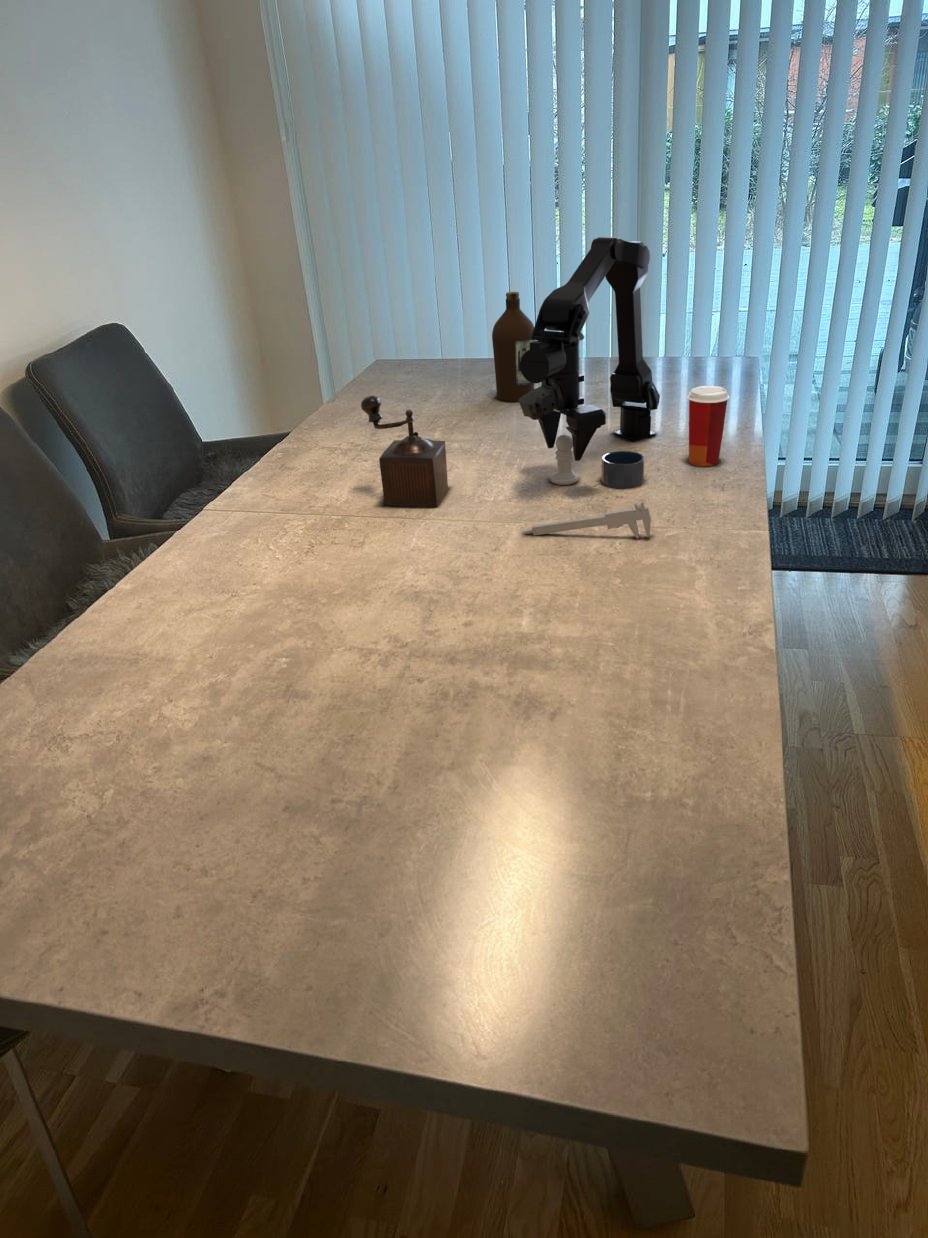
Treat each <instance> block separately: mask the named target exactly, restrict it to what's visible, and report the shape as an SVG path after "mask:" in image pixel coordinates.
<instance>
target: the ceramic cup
mask: <svg viewBox="0 0 928 1238" xmlns="http://www.w3.org/2000/svg"><path fill="white" fill-rule="evenodd" d="M645 458H646V457H645V456H644V455H643V454H642V453H639V452H637V451H630V450H619V451H611V452H607V453H605V454H603V456H601V477H600V479H601V480H600V481H601V483H602V484H603V485H604V486H606V487H609V488H614V489H631V488H636V487H639V486H641V485H642V484H643V483H644V478H645Z"/></svg>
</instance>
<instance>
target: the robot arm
mask: <svg viewBox="0 0 928 1238" xmlns="http://www.w3.org/2000/svg"><path fill="white" fill-rule="evenodd" d="M650 261H651V252H650V249H649V247H648V245H646V244H645V242H643V241H627V240H624V239H622V238H619V237H617V236H598V237H597V238H593V240H592V242H591V244H590V248H589V251H588V252H587V253H586V254H585V256H584V257H583V259H582V261H581V262H580V263H579V265H578V267H577V268H576V269H575V271H574V272H573V274H572V276H571V277H570V278H569V279H568V281H567V282H566V283H565V284H564V285H561V286H559V287H557V288H555V289H553V290H552V291H551V292H550V293H549V294H548V295H547V297H545V299H543V301H542V303H541V305H540V308H539V311H538V314H537V318H536V321H535V324H534V330H533V333H532V337H531V339H532V340H536V341H532V342H530V350H528V351H526V352H525V353H524V354H523V356H522V358H521V362H520V370H521V373H522V375H523V376H524V378H525V379H526V380H528V381H529V382H531V383H534V385H535V384H540V383H541V385H540V386H538V387H536V388H534V390H532V391H531V392H529V393H527V394H526V395H524V396H523V397H521V398H520V399H519V402H518V403H519V406H520V409H521V411H522V414H523V416H524V417H527V418H530V419H531V420H533V421H538V423H539V426H540V429H541V431H542V435H543V438H544V440H545V443H546V447H547V448H548V449H549V450H550V449H553V448H555V445H556V440H557V436H558V430H559V426H560V420H561V416H562V415H564V416H565V421H566V424H567V426H565V429H566V430H567V431H568V432H569V433H570V434H571V437H572V441H573V448H572V451H573V460H574V461H575V462H578V461H581V460H582V458H583V456H584V454H585V452H586V450H587V448H588V446H589V444H590V442H591V440H592V439H593V437H594V435H595V433H596V432H597V430H598V429H600V428H601V427H602V426H605V425H606V424H607V413H606V411H605V410H603V409H602V408H600V407H598V406H595V405H593V404H589V405H585V398H584V397H582V396H580V383H582V382H585V375H584V374H581V373H580V372H581V371H580V353H581V352H580V347H581V346H580V343H581V341H583V340H584V339H585V335H584V334H583V332H582V330H583V328H584V326H585V324H586V322H587V319H588V317H589V315H590V308H589V303H590V301H591V299H592V297H593V296H594V294H595V293H596V292H597V290H598V289H599V287H600V285H601V284H602V282H603V280H604V279H605V280H606V282H607V283H608V284H609V286H610V287H611V288H612V290H613V291H614V296H615V297H614V300H615V301H614V303H615V319H616V337H617V352H618V353H617V354H618V364H617V366H616V368H615V370H614V371H613V372H612V373H611V375H610V377H609V380H610V388H609V390H610V396H611V397H610V398H611V404H612V408H620V415H619V417H620V418H619V419H620V420H619V430H615V431H614V432H613V434H614V435H616V436H619V437H621V438H624V439H626V440H628V441H637V440H641V439H645V438H649V437H653V436H656V431H655V432H654V431H652V430H651V428H652V415H651V414H652V412H651V411H655V410H657V409H658V407H659V404H660V399H661V395H660V393H659V391H658V389H657V387H656V385H655V383H654V380H653V373H652V369H651V368H650V366H649V365H648V364H647V362H646V361H645V359H644V354H643V353H644V352H643V350H644V349H643V328H642V327H643V326H642V300H641V297H642V296H641V286H642V284H643V282H644V281H645V279H646V278H647V275H648V274H649V265H650ZM581 405H584V406H581ZM579 406H580V407H579Z"/></svg>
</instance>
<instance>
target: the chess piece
mask: <svg viewBox="0 0 928 1238" xmlns="http://www.w3.org/2000/svg"><path fill="white" fill-rule="evenodd" d="M555 447H556V449H557V450H556V451H555V460H556V461H557V462H556V463H557V471H555V472H553V473H552V474H551V475H550V477H549V480H550V482H551V483H553V484H555V485H559V486H568V485H573V484H576V482H577V481H578V480H579V475H578V474H577V473H575V471H573V469H572V468H573V464H572V463H573V460H574V452H573V441H572V435H569V434H567V433H566V434H565V433H564V434H561V435H559V436H558V437H556V440H555Z"/></svg>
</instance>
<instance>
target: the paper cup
mask: <svg viewBox="0 0 928 1238" xmlns="http://www.w3.org/2000/svg"><path fill="white" fill-rule="evenodd" d="M686 399H687V400H688V463H689V464H691V465H693V466H695V467H696V466H698V467H711V466H716V465H717V464H718V463H719V460H720V454H721V449H722V440H723V434H724V430H725V429H724V427H725V421H726V413H727V407H728V400H729V399H730V395H729V392H728V390H727V389H726V388H725V387H723V386H719V385H718V386H717V385H701V386H695V387H693V388H691V390H690V391H689V392H688V395H687V396H686Z"/></svg>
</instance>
